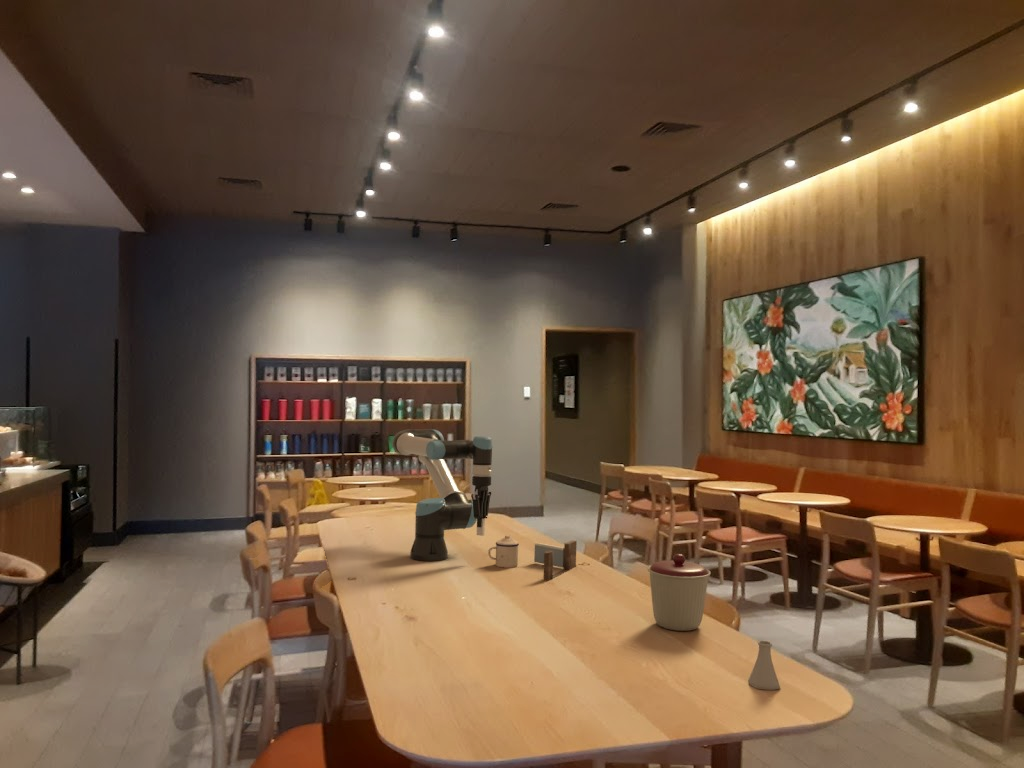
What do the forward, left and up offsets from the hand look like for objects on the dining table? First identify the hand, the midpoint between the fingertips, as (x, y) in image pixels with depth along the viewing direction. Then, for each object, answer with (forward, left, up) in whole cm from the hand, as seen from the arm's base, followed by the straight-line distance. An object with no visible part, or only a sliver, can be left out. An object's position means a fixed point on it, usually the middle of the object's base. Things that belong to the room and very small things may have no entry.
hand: (480, 535), depth 302 cm
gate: (+26, +9, -10) cm, 29 cm away
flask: (+118, -80, -11) cm, 143 cm away
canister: (+89, -44, -11) cm, 100 cm away
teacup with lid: (+10, 0, -11) cm, 15 cm away
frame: (+34, 0, -11) cm, 36 cm away
